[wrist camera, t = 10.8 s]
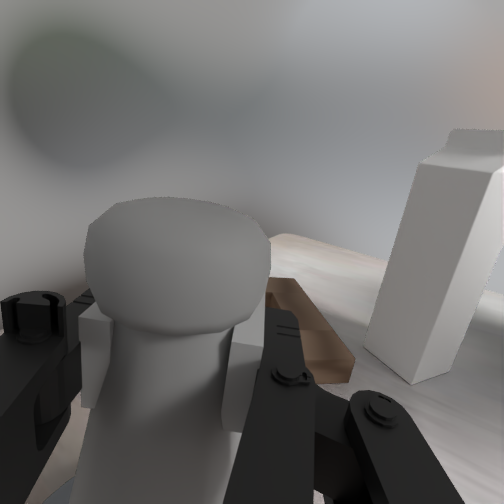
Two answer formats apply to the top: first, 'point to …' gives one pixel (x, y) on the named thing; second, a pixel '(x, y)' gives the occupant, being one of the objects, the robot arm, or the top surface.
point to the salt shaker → (167, 348)
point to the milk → (441, 256)
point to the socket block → (312, 332)
